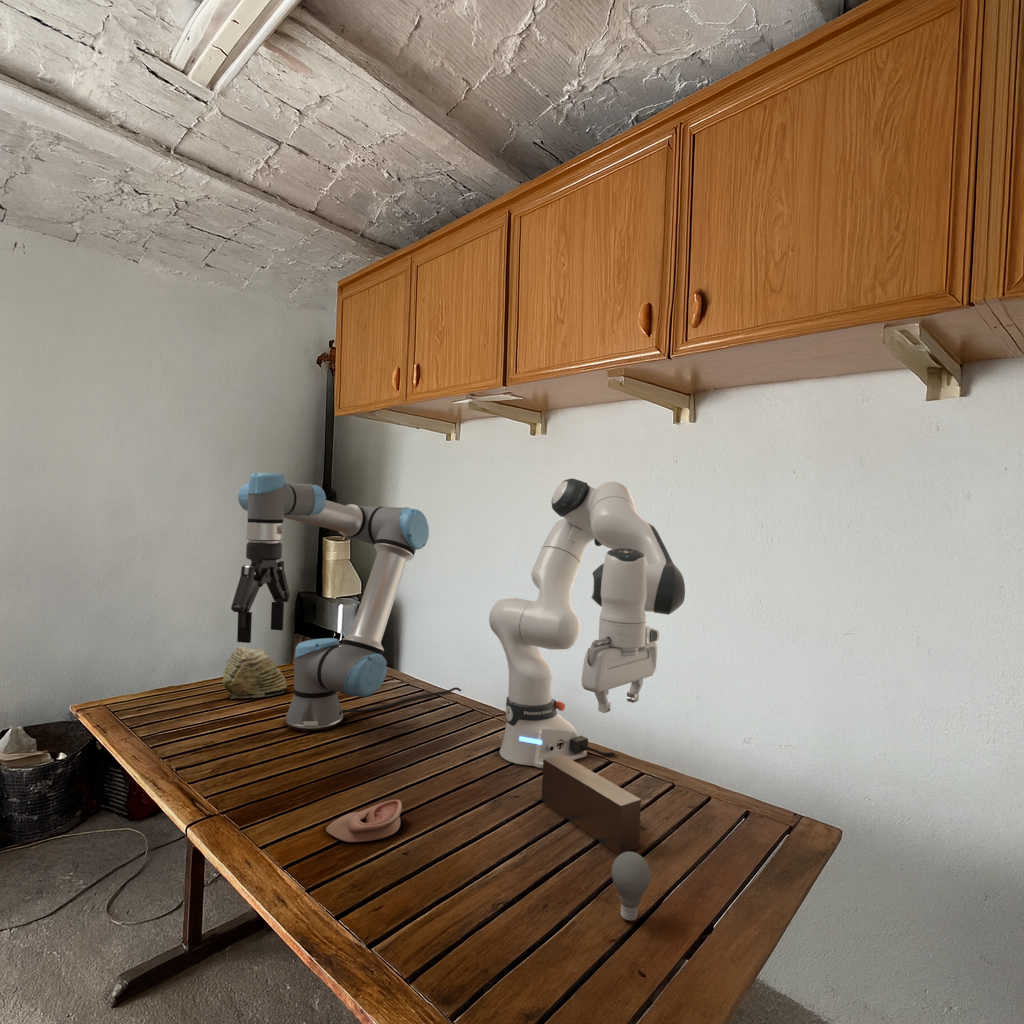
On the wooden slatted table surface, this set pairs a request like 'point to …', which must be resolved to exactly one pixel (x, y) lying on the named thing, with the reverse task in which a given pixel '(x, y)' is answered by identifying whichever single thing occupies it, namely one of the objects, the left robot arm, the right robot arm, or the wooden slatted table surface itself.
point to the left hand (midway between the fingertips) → (261, 635)
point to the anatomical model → (368, 823)
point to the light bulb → (630, 881)
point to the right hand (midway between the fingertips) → (618, 706)
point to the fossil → (252, 674)
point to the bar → (592, 803)
